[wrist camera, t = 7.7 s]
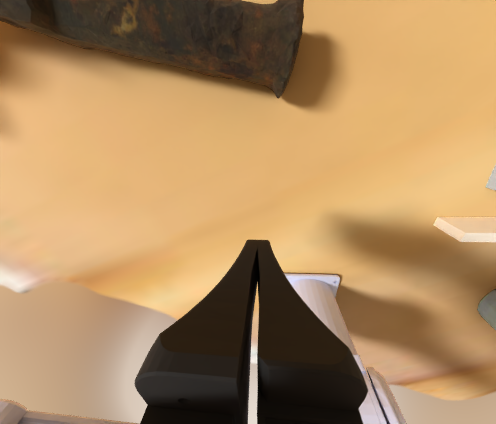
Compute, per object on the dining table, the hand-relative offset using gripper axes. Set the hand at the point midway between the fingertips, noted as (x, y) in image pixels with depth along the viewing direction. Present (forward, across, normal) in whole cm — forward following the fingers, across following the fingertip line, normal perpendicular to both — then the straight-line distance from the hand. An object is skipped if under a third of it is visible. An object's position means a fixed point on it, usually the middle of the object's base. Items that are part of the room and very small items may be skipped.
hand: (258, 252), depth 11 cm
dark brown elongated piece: (+10, +9, -13) cm, 18 cm away
